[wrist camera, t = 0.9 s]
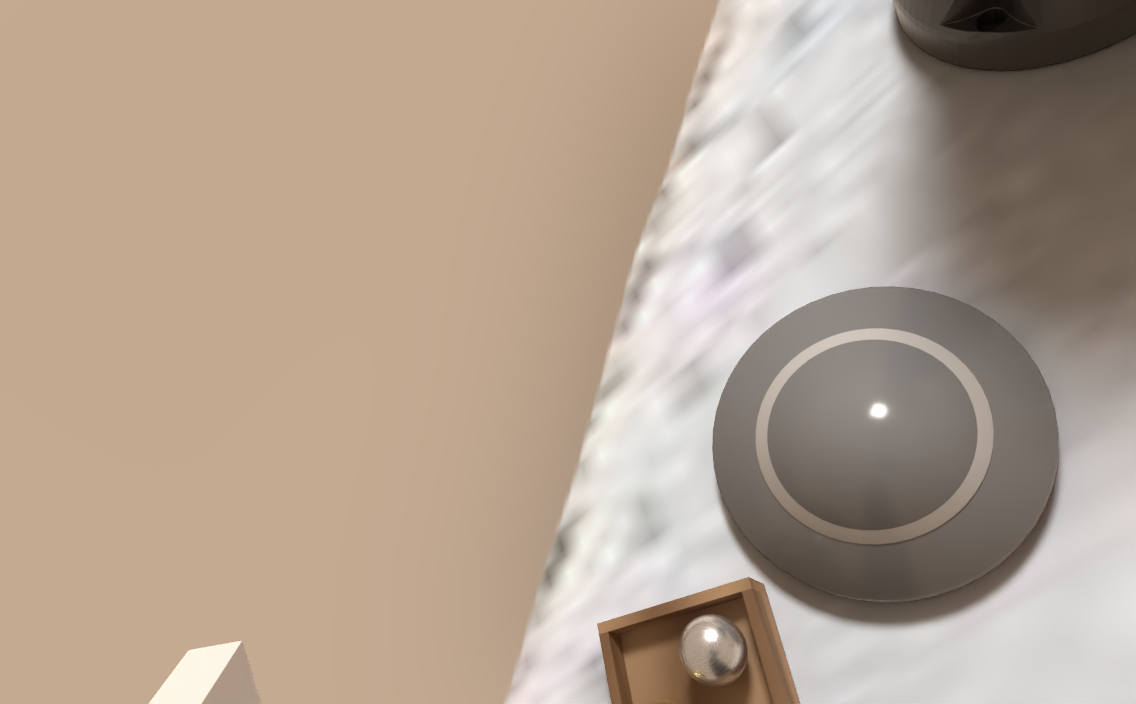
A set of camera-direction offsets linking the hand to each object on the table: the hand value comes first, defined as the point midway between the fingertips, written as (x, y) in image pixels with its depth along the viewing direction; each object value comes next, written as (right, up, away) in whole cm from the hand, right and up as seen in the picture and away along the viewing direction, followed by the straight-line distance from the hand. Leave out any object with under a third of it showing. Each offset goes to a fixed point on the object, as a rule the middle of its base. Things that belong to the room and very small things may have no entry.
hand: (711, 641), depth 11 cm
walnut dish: (+5, -12, +24) cm, 27 cm away
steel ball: (+4, -9, +22) cm, 24 cm away
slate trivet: (+12, 0, +25) cm, 28 cm away
